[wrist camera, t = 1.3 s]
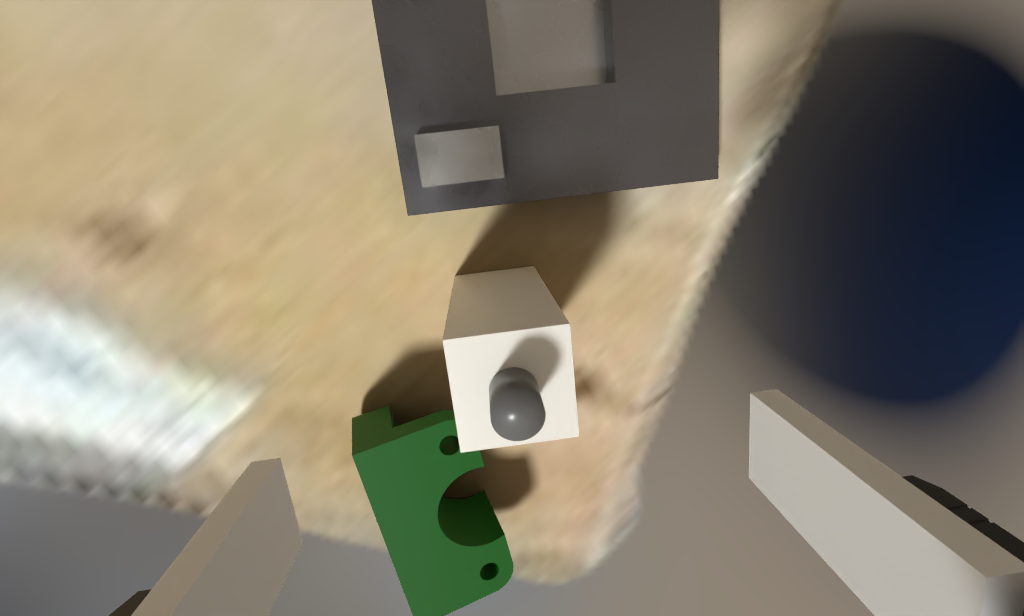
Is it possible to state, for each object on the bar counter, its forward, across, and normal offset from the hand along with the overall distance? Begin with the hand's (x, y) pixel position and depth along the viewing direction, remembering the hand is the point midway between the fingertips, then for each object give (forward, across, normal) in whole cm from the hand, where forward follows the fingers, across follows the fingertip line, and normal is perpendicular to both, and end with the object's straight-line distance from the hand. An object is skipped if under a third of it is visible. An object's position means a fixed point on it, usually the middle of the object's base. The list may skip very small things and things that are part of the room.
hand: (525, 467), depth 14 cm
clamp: (+16, -5, -10) cm, 19 cm away
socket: (+15, +4, +14) cm, 21 cm away
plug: (+15, 0, 0) cm, 15 cm away
